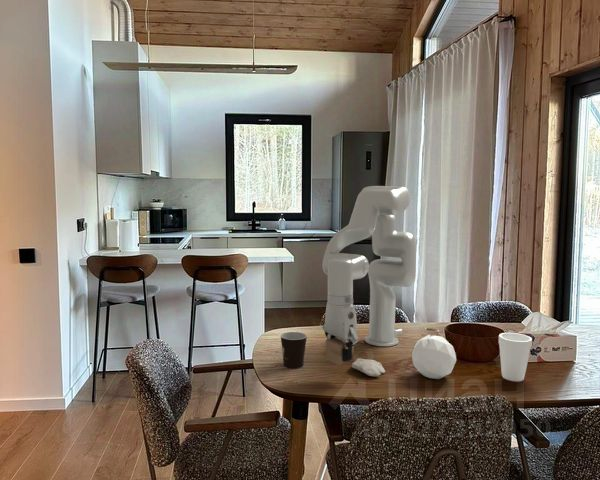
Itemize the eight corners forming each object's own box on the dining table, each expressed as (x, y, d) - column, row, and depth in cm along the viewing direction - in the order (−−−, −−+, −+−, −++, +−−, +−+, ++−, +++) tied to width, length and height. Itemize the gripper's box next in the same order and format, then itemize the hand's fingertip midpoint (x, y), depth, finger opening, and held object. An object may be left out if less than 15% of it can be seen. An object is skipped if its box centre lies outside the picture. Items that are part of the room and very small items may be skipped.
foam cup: (526, 385, 150) (529, 343, 148) (494, 379, 155) (496, 338, 153) (531, 375, 158) (533, 335, 156) (500, 369, 163) (502, 330, 161)
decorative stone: (385, 382, 153) (383, 368, 168) (387, 369, 153) (385, 357, 167) (350, 374, 154) (351, 362, 169) (352, 362, 154) (353, 351, 169)
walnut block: (340, 354, 156) (340, 335, 155) (353, 360, 151) (353, 341, 150) (325, 358, 152) (325, 339, 151) (338, 364, 147) (338, 345, 146)
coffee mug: (303, 370, 160) (304, 340, 159) (277, 368, 161) (277, 338, 160) (310, 358, 171) (310, 330, 170) (285, 356, 173) (286, 328, 172)
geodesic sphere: (450, 373, 143) (456, 329, 150) (403, 365, 149) (411, 323, 156) (455, 388, 154) (461, 346, 161) (411, 380, 161) (419, 340, 167)
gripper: (369, 303, 144) (368, 363, 147) (331, 291, 158) (330, 346, 160) (350, 307, 140) (349, 369, 142) (312, 295, 154) (312, 351, 156)
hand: (339, 356), depth 151 cm, fingers closed on walnut block, 6 cm apart
